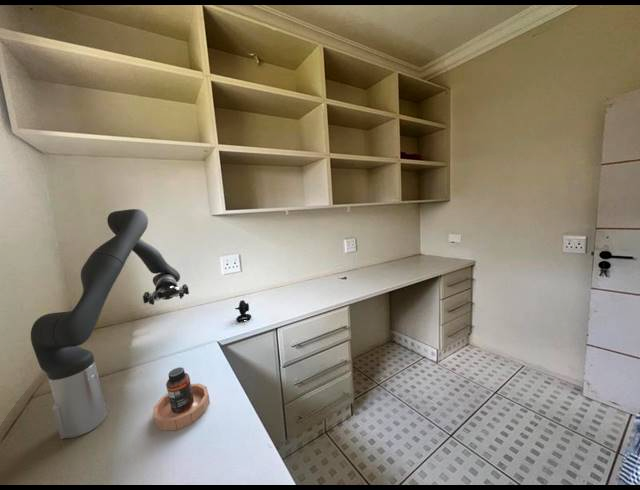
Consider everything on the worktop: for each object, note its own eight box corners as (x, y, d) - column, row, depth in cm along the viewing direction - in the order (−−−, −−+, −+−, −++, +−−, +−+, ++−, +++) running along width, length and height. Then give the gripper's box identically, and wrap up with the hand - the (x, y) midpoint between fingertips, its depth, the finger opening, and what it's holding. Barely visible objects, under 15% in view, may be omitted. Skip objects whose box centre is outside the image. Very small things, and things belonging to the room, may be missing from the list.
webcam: (250, 321, 131) (248, 302, 129) (235, 323, 130) (232, 304, 128) (252, 314, 139) (249, 297, 137) (237, 316, 137) (235, 299, 136)
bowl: (154, 439, 66) (152, 429, 65) (156, 405, 78) (154, 396, 77) (212, 414, 73) (210, 404, 72) (205, 385, 85) (204, 377, 84)
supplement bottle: (188, 395, 79) (182, 362, 78) (197, 404, 76) (191, 369, 74) (167, 408, 75) (161, 373, 73) (176, 417, 71) (169, 381, 69)
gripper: (143, 282, 98) (140, 293, 85) (185, 274, 106) (188, 283, 92) (147, 300, 100) (144, 314, 86) (187, 292, 107) (191, 303, 93)
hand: (166, 298), depth 89 cm, fingers open, 8 cm apart
